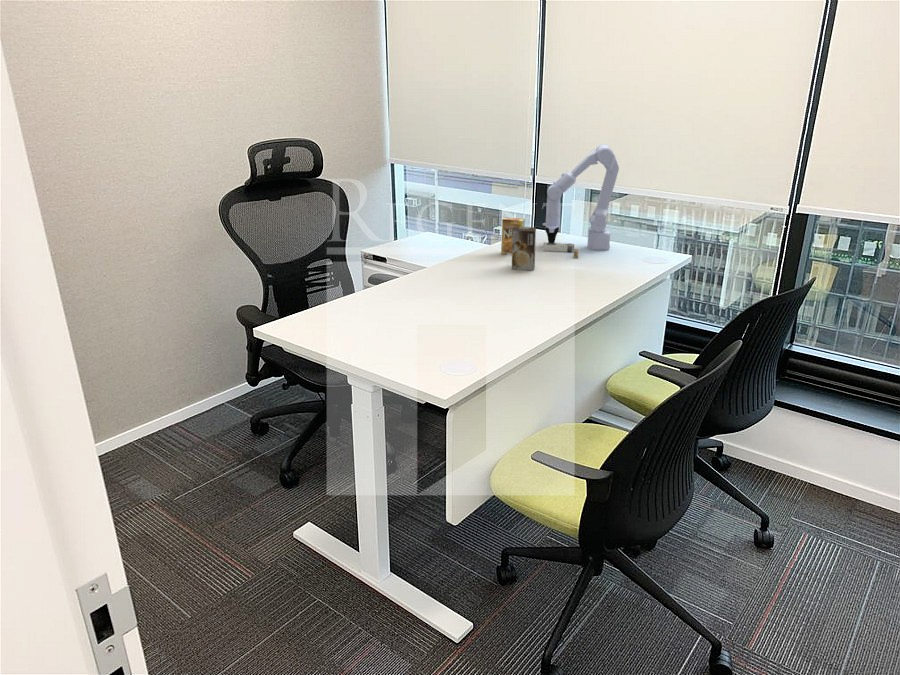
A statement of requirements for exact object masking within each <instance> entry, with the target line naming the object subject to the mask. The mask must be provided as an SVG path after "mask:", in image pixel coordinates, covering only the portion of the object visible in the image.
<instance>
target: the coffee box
mask: <svg viewBox="0 0 900 675" xmlns="http://www.w3.org/2000/svg"><path fill="white" fill-rule="evenodd" d="M536 233H537V227H534V226H533V227H532V226H531V227H529V226H524V227H514V228H513V236H512V253H511V270H515V271H516V270H517V271H535V268H536V242H537V241H536V239H537V238H536V236H537V234H536Z"/></svg>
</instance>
